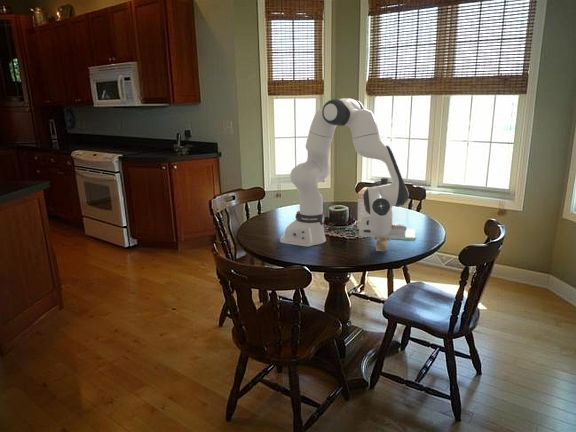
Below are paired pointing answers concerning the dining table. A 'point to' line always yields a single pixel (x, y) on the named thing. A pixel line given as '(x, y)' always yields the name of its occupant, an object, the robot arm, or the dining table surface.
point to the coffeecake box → (361, 206)
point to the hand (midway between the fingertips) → (382, 238)
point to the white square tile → (409, 234)
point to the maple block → (381, 244)
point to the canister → (382, 182)
